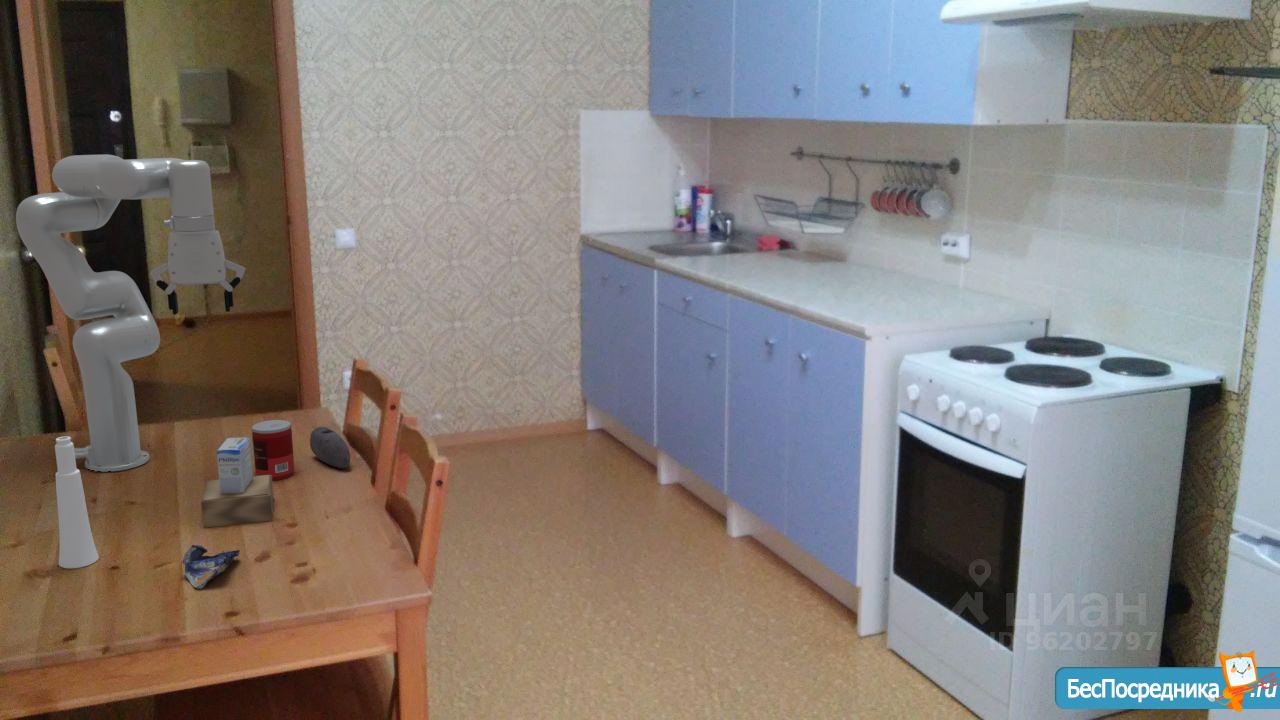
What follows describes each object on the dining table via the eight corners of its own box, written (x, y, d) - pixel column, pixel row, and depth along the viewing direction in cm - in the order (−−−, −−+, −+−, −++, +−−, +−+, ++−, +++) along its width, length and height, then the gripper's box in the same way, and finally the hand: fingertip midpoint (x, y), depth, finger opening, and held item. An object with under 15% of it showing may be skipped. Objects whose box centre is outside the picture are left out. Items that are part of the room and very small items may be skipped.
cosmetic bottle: (71, 571, 177) (55, 445, 172) (51, 563, 180) (34, 439, 175) (106, 559, 182) (91, 436, 177) (85, 551, 185) (70, 430, 180)
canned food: (300, 469, 227) (297, 420, 225) (284, 481, 220) (280, 431, 217) (266, 468, 228) (262, 419, 226) (249, 480, 220) (245, 430, 218)
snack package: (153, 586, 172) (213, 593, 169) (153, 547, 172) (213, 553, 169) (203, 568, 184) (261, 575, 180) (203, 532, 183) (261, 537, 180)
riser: (203, 527, 195) (201, 501, 194) (208, 505, 207) (206, 479, 205) (272, 520, 199) (270, 494, 198) (273, 498, 210) (271, 473, 209)
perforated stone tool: (358, 470, 227) (357, 439, 225) (335, 475, 224) (333, 444, 222) (331, 453, 239) (329, 423, 237) (309, 457, 235) (306, 427, 234)
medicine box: (230, 480, 205) (226, 437, 203) (253, 479, 206) (250, 436, 204) (219, 494, 197) (215, 450, 196) (244, 493, 198) (240, 449, 196)
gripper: (142, 228, 199) (151, 317, 203) (240, 225, 204) (247, 313, 208) (147, 224, 206) (156, 311, 210) (242, 221, 211) (249, 306, 215)
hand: (202, 311), depth 209 cm, fingers open, 9 cm apart
